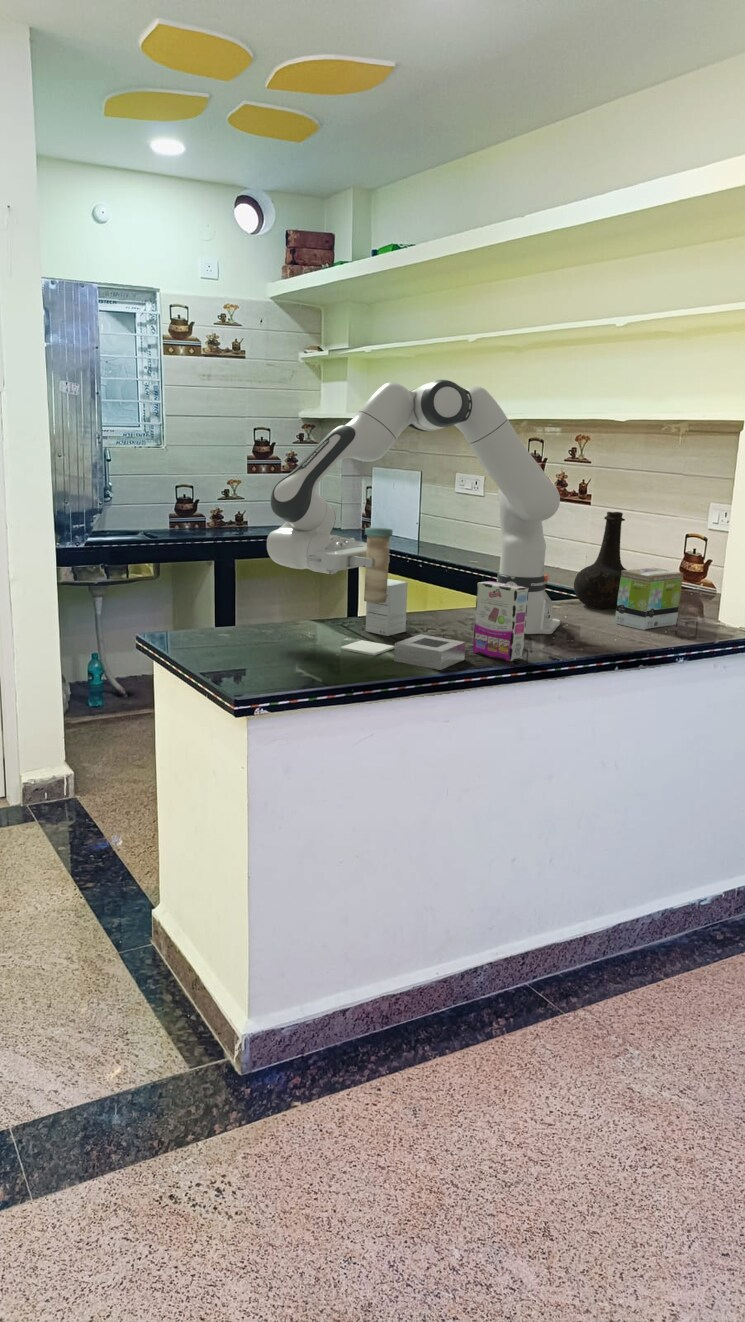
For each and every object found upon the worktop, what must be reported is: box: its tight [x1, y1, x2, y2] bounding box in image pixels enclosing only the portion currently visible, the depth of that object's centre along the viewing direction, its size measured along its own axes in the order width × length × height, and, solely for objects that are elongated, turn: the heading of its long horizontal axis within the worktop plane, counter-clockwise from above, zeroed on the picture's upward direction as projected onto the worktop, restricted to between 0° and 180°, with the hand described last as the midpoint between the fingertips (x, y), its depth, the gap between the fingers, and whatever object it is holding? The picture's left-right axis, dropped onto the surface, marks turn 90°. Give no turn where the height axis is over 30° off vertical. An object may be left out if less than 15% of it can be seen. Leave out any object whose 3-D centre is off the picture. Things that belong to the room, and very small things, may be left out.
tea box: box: [614, 567, 684, 631], centre depth 248 cm, size 15×10×15 cm, turn 129°
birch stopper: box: [363, 527, 394, 603], centre depth 204 cm, size 6×6×16 cm
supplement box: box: [365, 578, 409, 637], centre depth 226 cm, size 7×7×13 cm
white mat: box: [340, 639, 395, 656], centre depth 210 cm, size 9×9×1 cm
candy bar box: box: [472, 580, 529, 663], centre depth 207 cm, size 11×5×16 cm, turn 45°
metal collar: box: [393, 634, 466, 671], centre depth 202 cm, size 11×11×4 cm
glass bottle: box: [573, 511, 628, 611], centre depth 268 cm, size 18×18×28 cm
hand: (380, 561), depth 204 cm, fingers closed on birch stopper, 5 cm apart
